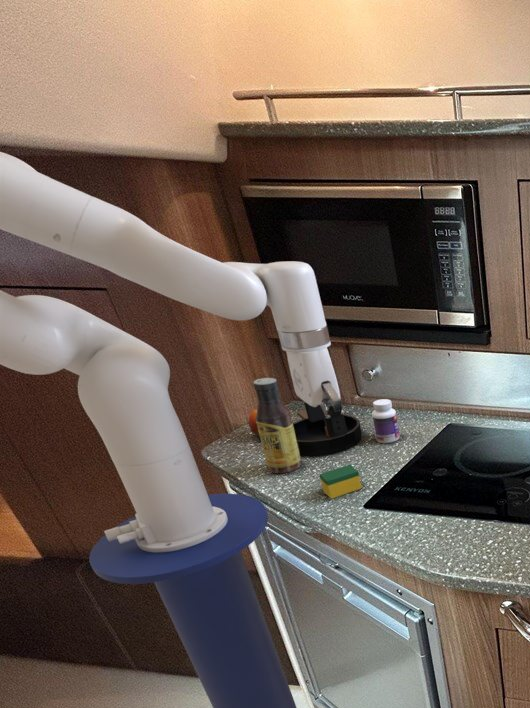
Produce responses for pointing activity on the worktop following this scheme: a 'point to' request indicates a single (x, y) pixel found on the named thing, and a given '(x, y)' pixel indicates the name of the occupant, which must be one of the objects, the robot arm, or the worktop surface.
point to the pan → (324, 436)
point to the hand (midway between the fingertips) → (328, 427)
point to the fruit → (253, 422)
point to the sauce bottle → (275, 428)
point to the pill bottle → (385, 421)
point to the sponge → (340, 481)
